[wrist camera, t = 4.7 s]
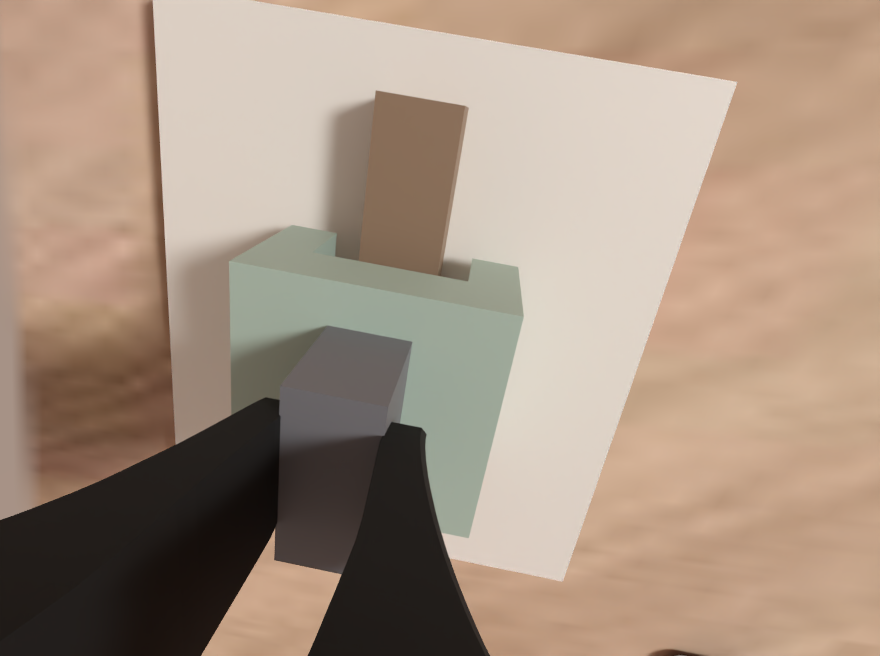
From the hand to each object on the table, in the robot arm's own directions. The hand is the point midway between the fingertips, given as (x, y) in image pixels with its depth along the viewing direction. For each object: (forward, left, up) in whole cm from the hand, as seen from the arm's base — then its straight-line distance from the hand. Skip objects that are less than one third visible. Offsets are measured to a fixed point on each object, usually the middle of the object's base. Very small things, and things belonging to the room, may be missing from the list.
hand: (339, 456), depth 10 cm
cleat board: (0, 0, -7) cm, 7 cm away
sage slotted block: (0, 0, -5) cm, 5 cm away
